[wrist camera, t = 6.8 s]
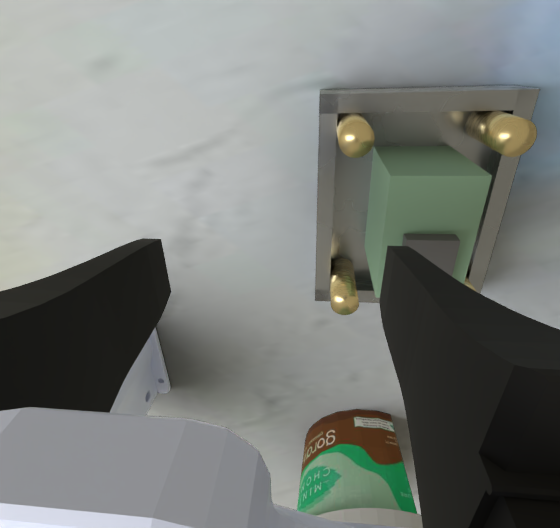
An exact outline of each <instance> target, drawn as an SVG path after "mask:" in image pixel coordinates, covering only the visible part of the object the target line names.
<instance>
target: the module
mask: <svg viewBox="0 0 560 528" xmlns="http://www.w3.org/2000/svg"><path fill="white" fill-rule="evenodd" d="M491 178H492V175H490V174H489V173H488V172H486V171H485V170H483V169H482V168H481V167H479V166H478V165H476V164H475V163H473V162H472V161H471V160H469V159H468V158H466V157H465V156H464V155H462V154H461V153H459V152H458V151H457V150H455V149H454V148H452V147H451V146H383V147H374V150H373V161H372V171H371V182H370V192H369V203H368V213H367V224H366V234H365V245H364V247H365V252H366V256H367V261H368V265H369V270H370V274H371V279H372V283H373V288H374V292H375V297H380V293H381V287H382V280H383V273H384V266H385V259H386V253H387V246H408V247H410V248H412V249H414V250H415V251H417V252H418V253H419V254H421V255H422V256H424V257H425V258H426V259H428V260H429V261H431V262H432V263H433V264H435V265H436V266H437V267H439V268H440V269H442V270H443V271H445V272H446V273H448V274H449V275H450V276H452V277H453V278H455V279H457V280H458V281H460V282H461V283H463V284H464V281H465V278H466V274H467V270H468V266H469V262H470V258H471V255H472V251H473V247H474V243H475V239H476V235H477V232H478V228H479V224H480V220H481V216H482V213H483V209H484V205H485V201H486V197H487V193H488V190H489V186H490V182H491Z"/></svg>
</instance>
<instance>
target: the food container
mask: <svg viewBox="0 0 560 528" xmlns="http://www.w3.org/2000/svg"><path fill="white" fill-rule="evenodd" d="M297 511H300V512H304V513H307V514H311V515H314V516H317V517H321V518H324V519H328V520H331V521H341V522H352V523H362V524H373V525H383V526H394V527H404V528H423V525H422V516H421V515H418V514H417V511H416V507H415V504H414V500H413V496H412V493H411V489H410V485H409V481H408V478H407V474H406V470H405V467H404V463H403V459H402V456H401V452H400V448H399V445H398V441H397V437H396V433H395V430H394V426H393V422H392V419H391V415H390V414H387V413H383V412H379V411H373V410H360V409H355V410H347V411H340V412H336V413H333V414H331V415H328V416H326V417H323V418H321V419H320V420H319V421H317V422H316V423H315V424H313V425H312V427H311V428H310V429H309V431H308V433H307V435H306V440H305V448H304V456H303V464H302V472H301V481H300V489H299V497H298V505H297Z"/></svg>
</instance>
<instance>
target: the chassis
mask: <svg viewBox="0 0 560 528" xmlns="http://www.w3.org/2000/svg"><path fill="white" fill-rule="evenodd" d="M539 91H540V89H537V88H531V87H524V86H518V85H499V86H458V87H417V88H376V89H335V90H320V109H319V153H318V198H317V243H316V288H315V301H331V307H332V309H333V310H334V311H335V312H336V313H338V314H341V315H348V314H351V313H353V312H355V311H356V310H357V308H358V306H359V302H371V303H380V301H379V300H380V297H375V292H374V288H373V283H372V279H371V274H370V270H369V265H368V261H367V256H366V252H365V247H364V245H365V234H366V224H367V213H368V203H369V192H370V182H371V171H372V161H373V150H374V147H383V146H451V147H452V148H454V149H455V150H457V151H458V152H459V153H461V154H462V155H464V156H465V157H466V158H468V159H469V160H471V161H472V162H473V163H475V164H476V165H478V166H479V167H481V168H482V169H483V170H485V171H486V172H488V173H489V174H490V175H492V178H491V182H490V186H489V190H488V193H487V197H486V201H485V205H484V209H483V213H482V216H481V220H480V224H479V228H478V232H477V235H476V239H475V243H474V247H473V251H472V255H471V258H470V262H469V266H468V270H467V274H466V278H465V281H464V285H466V286H468V287H469V288H471V289H473V290H474V291H476V292H478V293H479V294H480V292H481V289H482V285H483V282H484V279H485V275H486V272H487V268H488V265H489V261H490V258H491V255H492V251H493V248H494V244H495V241H496V238H497V234H498V231H499V227H500V224H501V220H502V217H503V214H504V210H505V207H506V203H507V200H508V197H509V193H510V190H511V186H512V183H513V179H514V176H515V173H516V169H517V166H518V162H519V159H520V156H521V155H522V154H523V153H525V152H526V151H528V150H529V149H530V148H531V146H532V145H533V144H534V142H535V140H536V136H537V130H536V126H535V125H534V124H533V122H531V118H532V115H533V111H534V108H535V104H536V101H537V97H538V94H539Z"/></svg>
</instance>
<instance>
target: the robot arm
mask: <svg viewBox="0 0 560 528" xmlns="http://www.w3.org/2000/svg"><path fill="white" fill-rule="evenodd" d="M170 293H171V289H170V284H169V279H168V273H167V268H166V263H165V258H164V253H163V248H162V242H161V239H140V240H136V241H133V242H131V243H128V244H125V245H123V246H121V247H118V248H116V249H114V250H111V251H109V252H107V253H105V254H102V255H100V256H98V257H95V258H93V259H91V260H89V261H86V262H84V263H81V264H79V265H76V266H74V267H72V268H69V269H67V270H64V271H62V272H59V273H57V274H54V275H51V276H49V277H46V278H43V279H40V280H37V281H34V282H31V283H28V284H25V285H22V286H19V287H15V288H12V289H8V290H4V291H0V528H404V527H394V526H383V525H373V524H362V523H352V522H341V521H331V520H328V519H324V518H321V517H317V516H314V515H311V514H307V513H304V512H300V511H297V510H293V509H290V508H286V507H283V506H280V505H276V504H273V502H272V499H271V480H270V473H269V471H268V469H267V467H266V465H265V463H264V461H263V459H262V457H261V454H260V452H259V451H258V450H257V449H256V448H255V447H254V446H253V445H252V444H250V443H249V442H247V441H246V440H244V439H243V438H241V437H240V436H239V435H237V434H236V433H234V432H233V431H231V430H230V429H228V428H227V427H223V426H219V425H214V424H210V423H206V422H202V421H198V420H194V419H188V418H174V417H160V416H146V415H147V413H148V411H149V409H150V407H151V405H152V403H153V401H154V399H155V397H156V395H157V393H168V392H169V391H170V389H171V386H170V382H169V378H168V374H167V370H166V366H165V362H164V358H163V354H162V350H161V346H160V342H159V338H158V335H157V331H156V325H157V323H158V322H159V320H160V318H161V316H162V314H163V312H164V309H165V307H166V304H167V302H168V299H169V296H170ZM379 301H380V309H381V316H382V323H383V328H384V332H385V336H386V339H387V343H388V346H389V350H390V353H391V356H392V360H393V363H394V366H395V370H396V373H397V377H398V380H399V383H400V387H401V391H402V395H403V399H404V404H405V410H406V416H407V421H408V427H409V433H410V439H411V446H412V452H413V459H414V465H415V472H416V479H417V486H418V494H419V501H420V508H421V516H422V525H423V528H560V330H559V329H556V328H553V327H551V326H548V325H546V324H543V323H541V322H538V321H536V320H533V319H531V318H529V317H526V316H524V315H521V314H519V313H517V312H515V311H513V310H510V309H508V308H506V307H504V306H502V305H500V304H498V303H496V302H494V301H492V300H490V299H488V298H487V297H485V296H483V295H481V294H479V293H478V292H476V291H474V290H473V289H471V288H469V287H468V286H466V285H464V284H463V283H461V282H460V281H458V280H457V279H455V278H453V277H452V276H450V275H449V274H448V273H446V272H445V271H443V270H442V269H440V268H439V267H437V266H436V265H435V264H433V263H432V262H431V261H429V260H428V259H426V258H425V257H424V256H422V255H421V254H419V253H418V252H417V251H415V250H414V249H412V248H410V247H408V246H387V253H386V259H385V266H384V273H383V280H382V287H381V293H380V300H379Z"/></svg>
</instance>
